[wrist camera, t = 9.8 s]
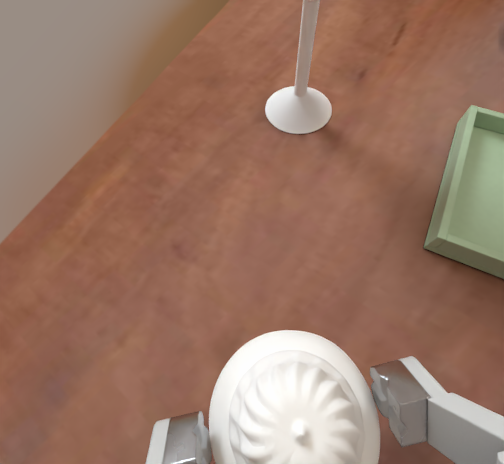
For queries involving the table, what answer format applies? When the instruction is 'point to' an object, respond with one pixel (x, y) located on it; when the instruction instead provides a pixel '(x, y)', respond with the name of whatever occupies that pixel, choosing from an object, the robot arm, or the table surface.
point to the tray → (472, 195)
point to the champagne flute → (301, 86)
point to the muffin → (293, 405)
